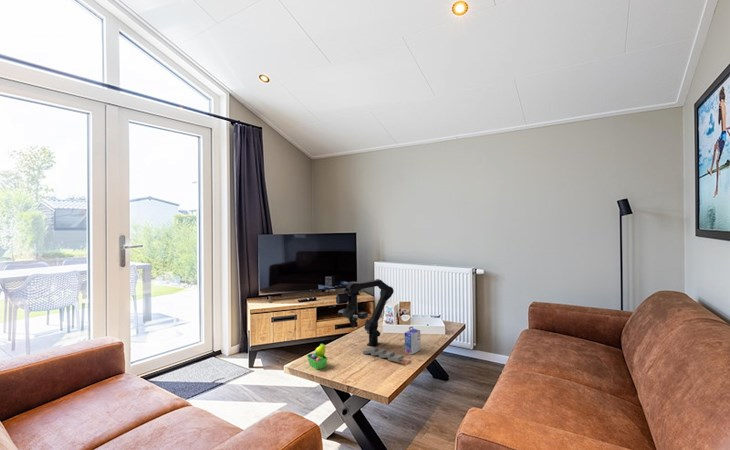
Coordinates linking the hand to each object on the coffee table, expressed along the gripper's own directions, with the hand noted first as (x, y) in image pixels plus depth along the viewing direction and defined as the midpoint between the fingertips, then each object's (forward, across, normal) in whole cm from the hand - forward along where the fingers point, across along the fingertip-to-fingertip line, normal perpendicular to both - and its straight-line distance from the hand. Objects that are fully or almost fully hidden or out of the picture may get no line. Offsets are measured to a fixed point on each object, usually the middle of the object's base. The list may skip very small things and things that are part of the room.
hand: (352, 327), depth 210 cm
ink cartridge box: (+13, +34, +14) cm, 39 cm away
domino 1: (+12, +10, -2) cm, 16 cm away
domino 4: (+12, +28, -3) cm, 30 cm away
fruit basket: (+13, -4, -30) cm, 33 cm away
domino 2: (+12, +15, -2) cm, 19 cm away
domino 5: (+13, +30, -3) cm, 33 cm away
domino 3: (+12, +21, -2) cm, 24 cm away
